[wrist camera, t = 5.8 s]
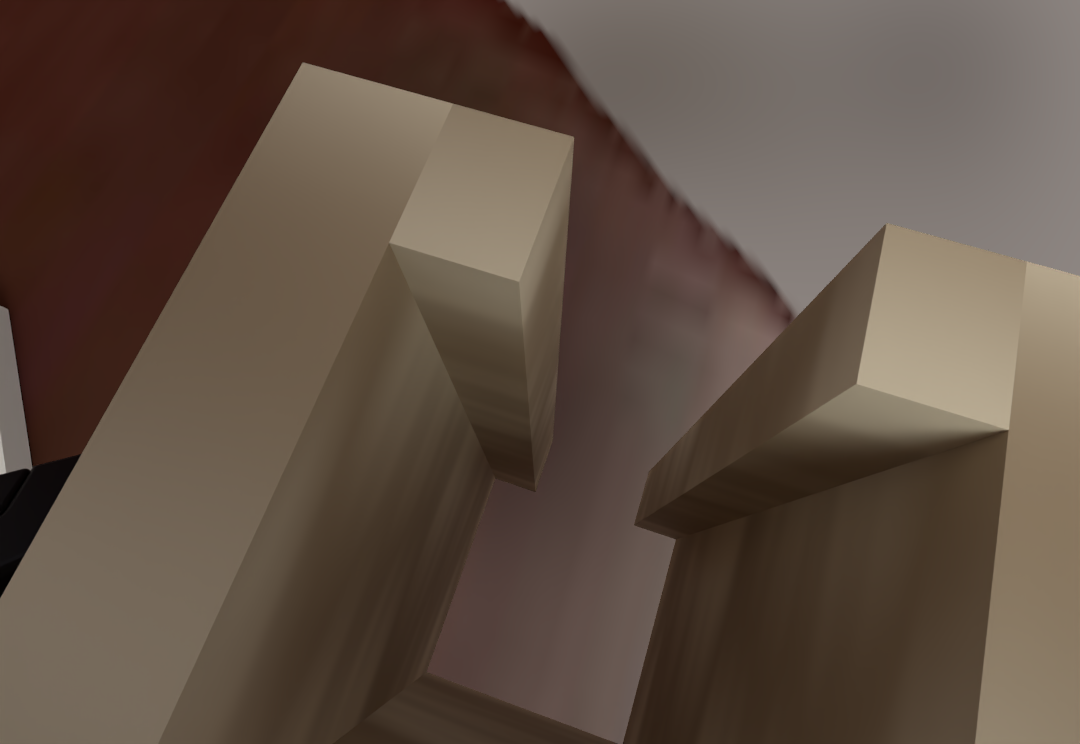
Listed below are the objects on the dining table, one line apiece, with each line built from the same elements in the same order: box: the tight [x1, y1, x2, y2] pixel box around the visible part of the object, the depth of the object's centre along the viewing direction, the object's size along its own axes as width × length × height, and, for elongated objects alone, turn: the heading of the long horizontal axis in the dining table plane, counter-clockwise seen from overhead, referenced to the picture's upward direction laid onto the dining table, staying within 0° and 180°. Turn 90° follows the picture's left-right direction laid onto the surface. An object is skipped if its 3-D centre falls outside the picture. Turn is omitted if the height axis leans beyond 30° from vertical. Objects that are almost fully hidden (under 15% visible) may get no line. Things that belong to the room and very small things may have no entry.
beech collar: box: [0, 63, 1080, 744], centre depth 9 cm, size 7×7×11 cm
